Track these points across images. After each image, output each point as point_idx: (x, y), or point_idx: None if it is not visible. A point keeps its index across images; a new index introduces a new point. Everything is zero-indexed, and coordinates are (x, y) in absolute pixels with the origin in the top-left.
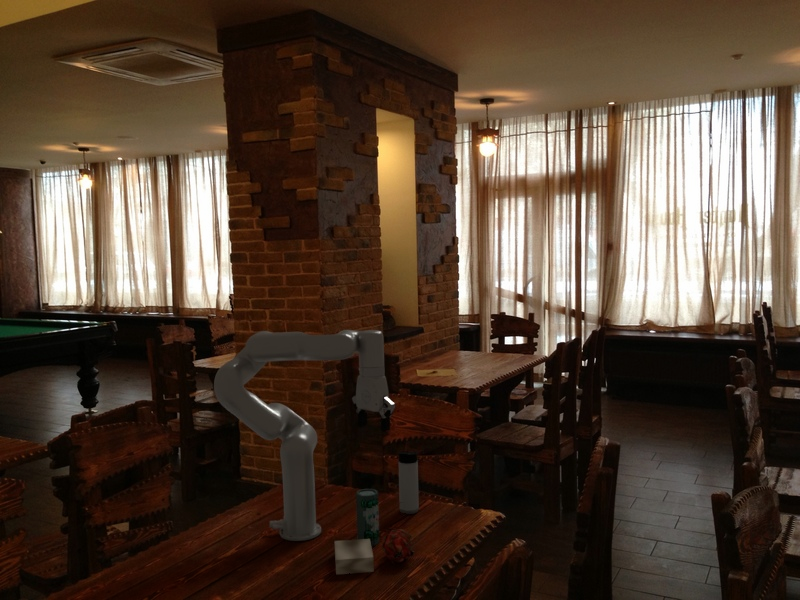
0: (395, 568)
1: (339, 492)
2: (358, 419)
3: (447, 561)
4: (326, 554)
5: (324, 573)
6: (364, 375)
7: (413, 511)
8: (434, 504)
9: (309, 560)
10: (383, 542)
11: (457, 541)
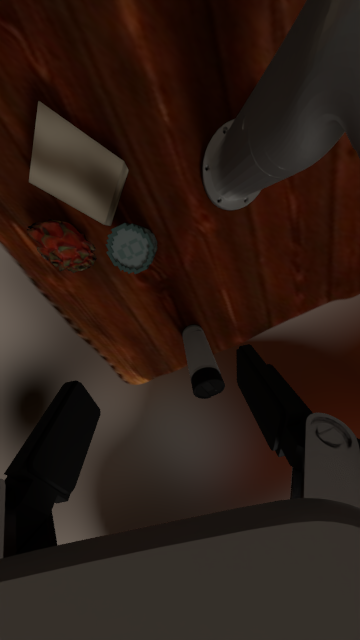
0: None
1: (295, 302)
2: (268, 372)
3: (43, 291)
4: (137, 157)
5: (68, 100)
6: None
7: (182, 333)
8: None
9: (131, 110)
10: (63, 225)
11: (91, 328)
